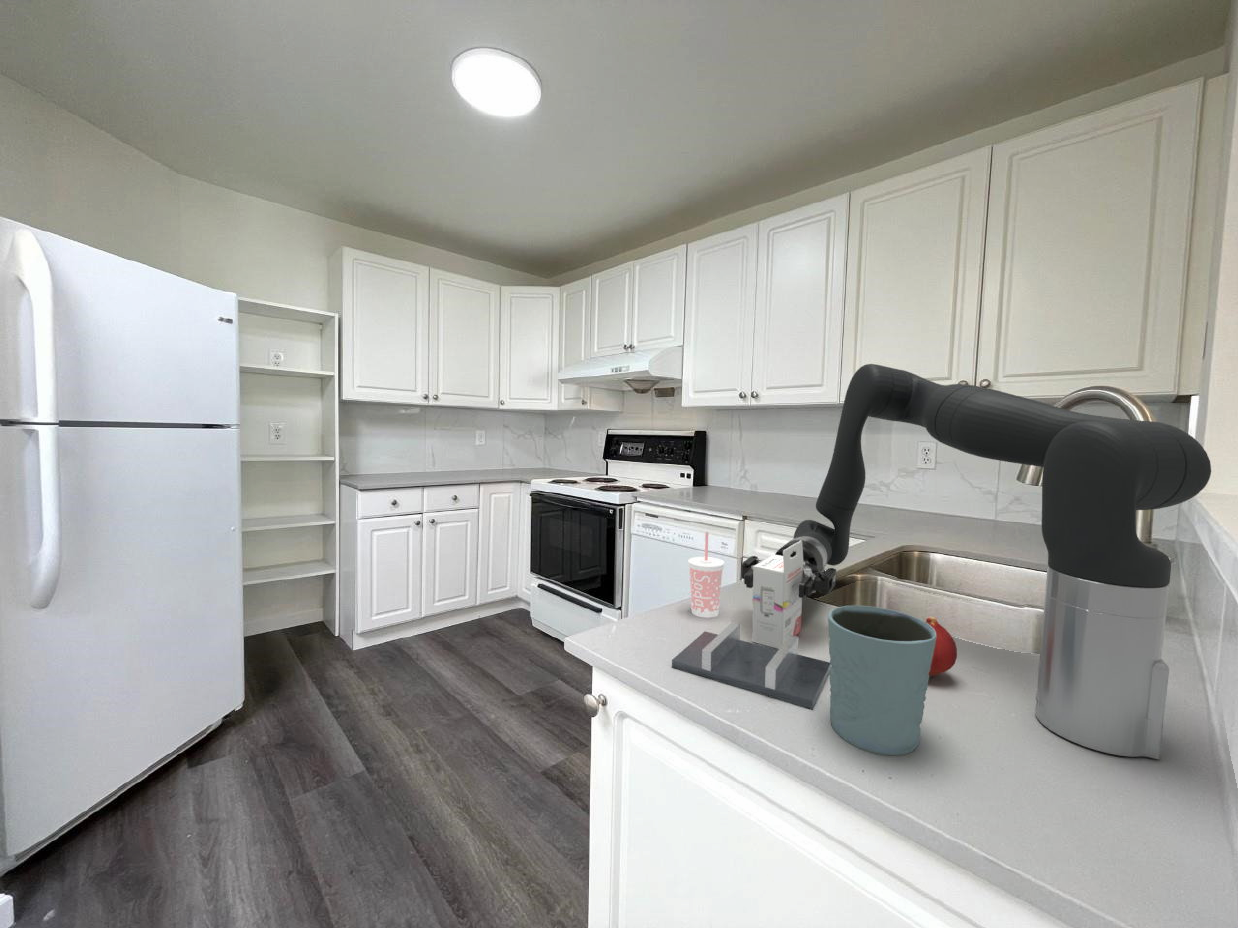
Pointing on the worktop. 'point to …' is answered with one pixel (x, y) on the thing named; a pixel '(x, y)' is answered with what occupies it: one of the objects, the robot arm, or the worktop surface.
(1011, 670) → the worktop surface
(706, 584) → the beverage cup
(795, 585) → the ink cartridge box
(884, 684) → the teal ceramic vase
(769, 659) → the rail channel
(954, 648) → the onion
